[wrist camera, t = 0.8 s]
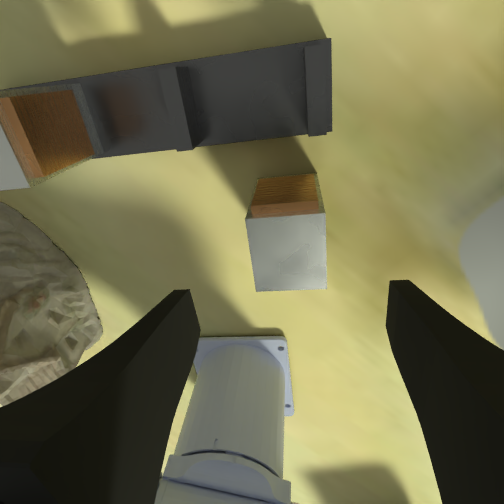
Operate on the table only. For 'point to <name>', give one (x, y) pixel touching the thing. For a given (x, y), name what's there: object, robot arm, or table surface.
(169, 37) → the table surface
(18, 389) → the ceramic cottage
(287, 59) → the rail
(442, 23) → the table surface
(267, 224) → the grey and orange block
